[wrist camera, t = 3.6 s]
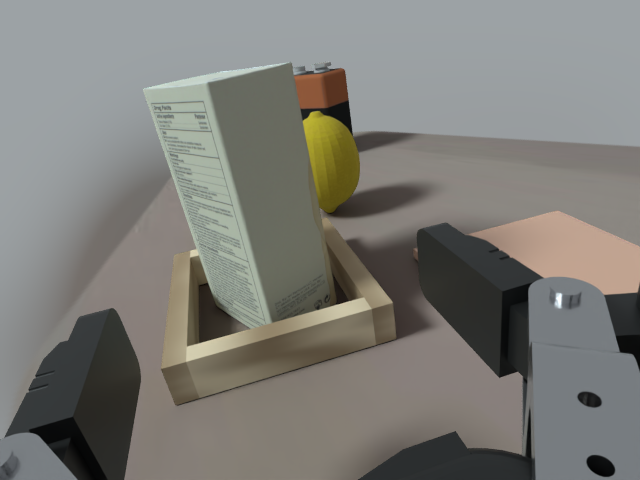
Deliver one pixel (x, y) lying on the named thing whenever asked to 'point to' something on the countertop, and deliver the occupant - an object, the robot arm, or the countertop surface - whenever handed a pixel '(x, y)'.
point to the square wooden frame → (270, 329)
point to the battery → (323, 92)
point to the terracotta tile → (568, 251)
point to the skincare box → (247, 190)
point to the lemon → (331, 159)
